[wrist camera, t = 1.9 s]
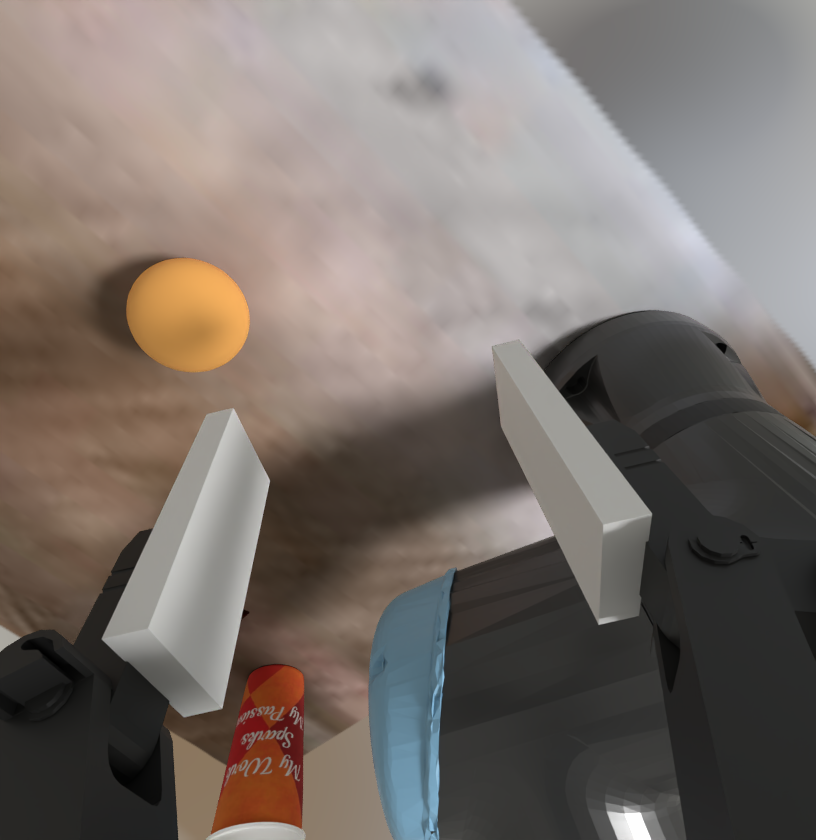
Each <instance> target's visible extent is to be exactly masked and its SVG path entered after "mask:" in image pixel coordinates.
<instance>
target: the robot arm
mask: <svg viewBox="0 0 816 840" xmlns="http://www.w3.org/2000/svg"><path fill="white" fill-rule="evenodd" d="M492 352H493V361H494V370H495V378H496V387H497V396H498V404H499V413H500V422H501V428H502V430H503V432H504V434H505V436H506V438H507V440H508V442H509V444H510V446H511V448H512V450H513V452H514V454H515V456H516V458H517V460H518V462H519V464H520V466H521V468H522V470H523V472H524V474H525V476H526V478H527V480H528V482H529V484H530V486H531V489H532V491H533V493H534V495H535V497H536V499H537V501H538V503H539V505H540V507H541V509H542V511H543V513H544V515H545V517H546V519H547V521H548V523H549V525H550V527H551V529H552V531H553V533H554V535H555V536H552V537H549V538H546V539H544V540H541V541H538V542H535V543H533V544H530V545H527V546H524V547H522V548H519V549H516V550H514V551H511V552H508V553H505V554H503V555H500V556H497V557H494V558H492V559H489V560H486V561H484V562H481V563H478V564H475V565H473V566H470V567H467V568H464V569H462V570H459V571H457V568H452V569H449V570H448V571H447V572H446V574H445V575H444V576H442V577H439V578H437V579H435V580H432V581H430V582H428V583H425V584H423V585H421V586H418V587H416V588H414V589H411V590H409V591H407V592H404V593H402V594H401V595H399V596H397V597H396V598H395V599H394V600H392V601H391V603H390V604H389V605H388V606H387V607H386V609H385V610H384V612H383V614H382V616H381V618H380V620H379V622H378V625H377V628H376V631H375V635H374V639H373V644H372V650H371V656H370V669H369V723H370V737H371V746H372V755H373V763H374V769H375V774H376V780H377V785H378V790H379V795H380V799H381V803H382V807H383V811H384V815H385V818H386V821H387V825H388V827H389V830H390V833H391V835H392V837H393V839H394V840H816V437H815V436H814V435H812V434H811V433H809V432H808V431H806V430H805V429H803V428H802V427H800V426H799V425H797V424H796V423H794V422H793V421H791V420H790V419H788V418H787V417H785V416H784V415H782V414H781V413H780V412H778V411H777V410H775V409H774V408H773V407H771V406H770V405H768V404H767V403H766V401H765V399H764V398H763V396H762V395H761V393H760V391H759V390H758V388H757V386H756V385H755V383H754V382H753V380H752V378H751V377H750V375H749V374H748V372H747V370H746V369H745V368H744V366H743V365H742V364H741V362H740V359H739V358H738V356H737V354H736V353H735V351H734V350H733V348H732V347H731V346H730V345H729V344H728V343H727V342H726V341H725V340H724V339H723V338H722V337H721V336H720V335H718V334H717V333H715V332H714V331H712V330H711V329H709V328H707V327H706V326H704V325H702V324H701V323H699V322H697V321H696V320H694V319H692V318H690V317H687V316H685V315H682V314H678V313H673V312H667V311H644V312H637V313H632V314H628V315H624V316H621V317H618V318H615V319H612V320H610V321H607V322H605V323H603V324H601V325H599V326H596V327H595V328H593V329H591V330H589V331H588V332H586V333H585V334H583V335H581V336H580V337H579V338H577V339H576V340H574V341H573V342H572V343H571V344H570V345H568V346H567V347H566V348H565V349H564V350H563V351H562V352H561V353H560V354H559V355H558V356H557V357H556V358H555V359H554V360H553V361H552V362H551V363H550V365H549V366H548V367H547V369H546V370H545V371H543V370H542V369H541V367H540V366H539V365H538V363H537V362H536V361H535V360H534V358H533V357H532V356H531V354H530V353H529V352H528V350H527V349H526V348H525V346H524V345H523V344H522V343H521V341H520V340H516V341H512V342H507V343H503V344H499V345H495V346H492ZM269 484H270V480H269V478H268V476H267V474H266V472H265V470H264V468H263V466H262V464H261V462H260V460H259V458H258V456H257V454H256V452H255V450H254V448H253V446H252V444H251V442H250V440H249V438H248V436H247V434H246V432H245V430H244V428H243V426H242V424H241V422H240V420H239V418H238V416H237V414H236V412H235V410H234V408H231V409H227V410H222V411H218V412H214V413H210V414H207V415H206V417H205V419H204V421H203V423H202V425H201V427H200V430H199V432H198V434H197V436H196V438H195V440H194V442H193V445H192V447H191V449H190V451H189V453H188V455H187V457H186V460H185V462H184V464H183V466H182V468H181V470H180V472H179V475H178V477H177V479H176V481H175V483H174V485H173V487H172V489H171V492H170V494H169V496H168V498H167V500H166V502H165V504H164V507H163V509H162V511H161V513H160V515H159V517H158V519H157V522H156V524H155V526H154V528H153V529H149V530H144V531H140V532H139V533H138V534H137V535H136V536H135V537H134V538H133V540H132V541H131V542H130V543H129V544H128V545H127V546H126V547H125V548H124V550H123V551H122V552H121V554H120V556H119V558H118V560H117V562H116V564H115V566H114V567H113V569H112V571H111V573H112V576H109V577H108V579H107V581H106V583H105V585H104V587H103V589H102V590H103V593H101V594H100V595H99V597H98V599H97V600H96V602H95V604H94V606H93V608H92V610H91V612H90V614H89V616H88V618H87V620H86V622H85V624H84V626H83V628H82V630H81V632H80V633H79V635H78V637H77V639H76V641H75V643H74V645H72V644H71V643H69V642H68V641H67V640H66V639H65V638H64V637H63V636H62V635H60V634H59V633H57V632H56V631H55V630H39V631H37V632H34V633H31V634H28V635H26V636H23V637H22V638H20V639H19V640H17V641H15V642H14V643H12V644H10V645H9V646H7V647H6V648H4V649H3V650H2V651H1V652H0V840H178V827H177V810H176V793H175V776H174V760H173V741H172V738H171V735H170V732H169V730H168V729H167V728H166V727H164V726H163V725H162V724H163V721H164V718H165V714H166V711H167V708H168V704H170V705H171V706H172V707H173V708H174V709H175V710H176V711H178V712H179V713H180V714H181V715H182V716H183V717H188V716H192V715H197V714H201V713H206V712H210V711H215V710H219V709H222V708H223V703H224V698H225V694H226V689H227V684H228V679H229V675H230V670H231V665H232V660H233V656H234V651H235V646H236V641H237V636H238V632H239V627H240V622H241V617H242V613H243V608H244V603H245V598H246V594H247V589H248V584H249V579H250V574H251V570H252V565H253V560H254V555H255V551H256V546H257V541H258V536H259V532H260V527H261V522H262V517H263V512H264V508H265V503H266V498H267V493H268V489H269Z"/></svg>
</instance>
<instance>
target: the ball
mask: <svg viewBox="0 0 816 840" xmlns="http://www.w3.org/2000/svg"><path fill="white" fill-rule="evenodd" d="M126 313H127V321H128V325H129V328H130V330H131V333H132V335H133V337H134V339H135V340H136V342H137V343H138V345H139V346H140V347H141V348H142V350H143V351H144V352H145V353H146V354H147V355H149V356H150V357H151V358H152V359H154V360H155V361H157V362H159V363H160V364H162V365H164V366H166V367H169V368H171V369H175V370H178V371H184V372H204V371H209V370H212V369H215V368H218V367H220V366H222V365H224V364H225V363H227V362H229V361H230V360H231V359H232V358H233V357H234V356H236V354H237V353H238V352H239V351H240V349H241V348H242V346H243V344H244V343H245V340H246V338H247V335H248V331H249V324H250V319H249V310H248V305H247V302H246V300H245V297H244V295H243V293H242V292H241V290H240V289H239V287H238V285H237V284H236V283H235V282H234V281H233V280H232V279H231V278H230V277H229V276H228V275H227V274H226V273H225V272H223V271H222V270H220V269H219V268H217V267H215V266H213V265H211V264H209V263H206V262H204V261H200V260H196V259H191V258H174V259H169V260H164V261H161V262H159V263H157V264H155V265H153V266H151V267H149V268H148V269H146V270H145V271H144V272H143V273H142V274H141V275H140V276H139V277H138V278H137V279H136V281H135V282H134V284H133V286H132V288H131V290H130V292H129V295H128V299H127V307H126Z"/></svg>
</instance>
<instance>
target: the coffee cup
mask: <svg viewBox="0 0 816 840" xmlns="http://www.w3.org/2000/svg"><path fill="white" fill-rule="evenodd" d="M303 735H304V677H303V674H302V673H301V672H300V671H299V670H298V669H296V668H294V667H292V666H288V665H281V664H274V665H267V666H263V667H260V668H258V669H256V670H254V671H253V672H252V673H251V674H250V675H249V678H248V680H247V684H246V688H245V692H244V696H243V700H242V704H241V708H240V712H239V716H238V720H237V725H236V729H235V733H234V737H233V741H232V746H231V750H230V754H229V758H228V763H227V767H226V771H225V776H224V781H223V784H222V788H221V793H220V797H219V801H218V806H217V810H216V815H215V819H214V823H213V827H212V831H211V835H210V836H209V837H208V838H207V839H205V840H305V833H304V831H303V830H302V804H303Z"/></svg>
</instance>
